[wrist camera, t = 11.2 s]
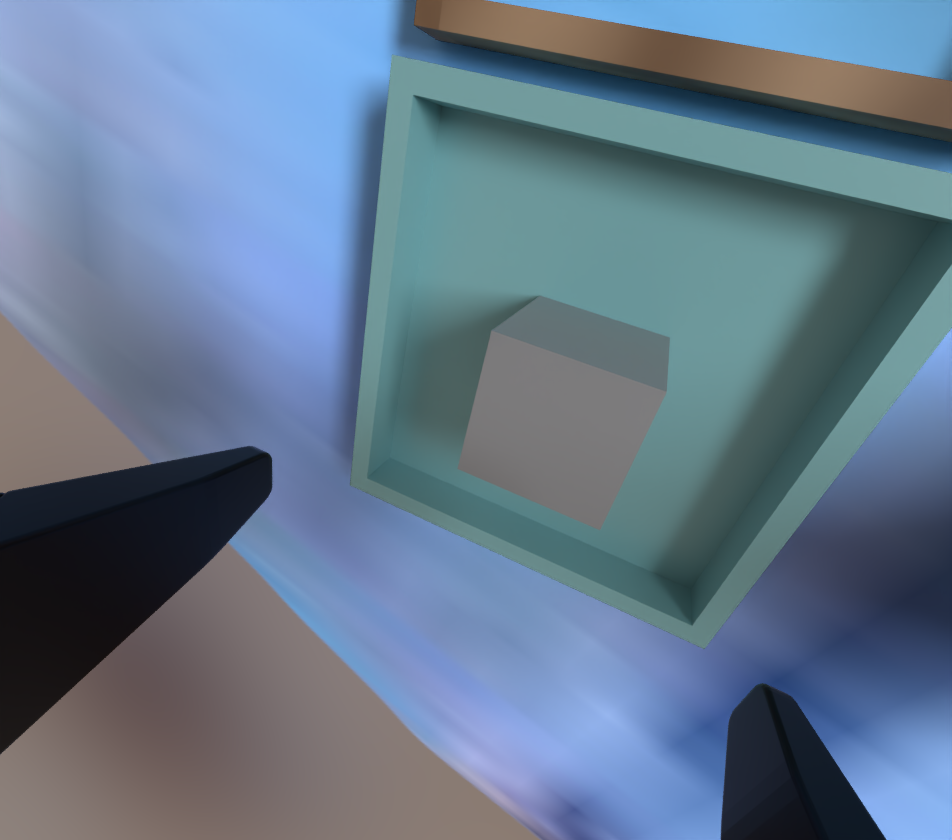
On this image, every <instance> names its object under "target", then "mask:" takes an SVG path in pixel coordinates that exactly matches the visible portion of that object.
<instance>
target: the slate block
mask: <svg viewBox="0 0 952 840" xmlns="http://www.w3.org/2000/svg"><path fill="white" fill-rule="evenodd" d="M669 346H670V337H667V336H664V335H661V334H658V333H655V332H652V331H648V330H645V329H642V328H639V327H636V326H633V325H630V324H627V323H624V322H621V321H618V320H614V319H611V318H608V317H605V316H602V315H599V314H596V313H593V312H590V311H587V310H584V309H581V308H577V307H574V306H571V305H568V304H565V303H562V302H559V301H556V300H553V299H550V298H547V297H543V296H539V297H538V298H536V299H535V300H533V301H532V302H531V303H529V304H528V305H526V306H525V307H524V308H522V309H521V310H519V311H518V312H517V313H515V314H514V315H512V316H511V317H510V318H508V319H507V320H506V321H504V322H503V323H501V324H500V325H499V326H497V327H496V328H494V329H493V330H492V331H491V335H490V339H489V343H488V347H487V351H486V355H485V359H484V363H483V367H482V371H481V375H480V379H479V383H478V387H477V391H476V395H475V399H474V404H473V408H472V412H471V416H470V420H469V424H468V428H467V432H466V436H465V440H464V444H463V448H462V452H461V456H460V460H459V464H458V468H457V469H459V470H461V471H463V472H466V473H468V474H470V475H473V476H475V477H477V478H480V479H482V480H484V481H487V482H489V483H491V484H494V485H496V486H498V487H501V488H503V489H505V490H508V491H510V492H512V493H514V494H517V495H519V496H521V497H524V498H526V499H528V500H531V501H533V502H535V503H538V504H540V505H542V506H545V507H547V508H549V509H552V510H554V511H556V512H559V513H561V514H563V515H566V516H568V517H570V518H573V519H575V520H577V521H580V522H582V523H584V524H587V525H589V526H591V527H593V528H596V529H598V530H600V529H601V527H602V525H603V523H604V521H605V519H606V517H607V515H608V513H609V511H610V508H611V506H612V504H613V502H614V500H615V498H616V496H617V494H618V492H619V490H620V488H621V486H622V484H623V482H624V479H625V477H626V475H627V473H628V471H629V469H630V467H631V465H632V463H633V461H634V459H635V457H636V455H637V453H638V451H639V448H640V446H641V444H642V442H643V440H644V438H645V436H646V434H647V432H648V430H649V428H650V426H651V424H652V422H653V419H654V417H655V415H656V413H657V411H658V409H659V407H660V405H661V403H662V401H663V399H664V397H665V395H666V393H667V380H668V363H669Z"/></svg>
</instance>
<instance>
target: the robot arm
mask: <svg viewBox="0 0 952 840" xmlns="http://www.w3.org/2000/svg"><path fill="white" fill-rule="evenodd" d="M271 490H272V458H271V456H270V454H268V453H267V452H265V451H263V450H260V449H258V448H256V447H253V446H247V447H241V448H236V449H231V450H225V451H220V452H215V453H209V454H204V455H199V456H193V457H188V458H183V459H177V460H172V461H167V462H161V463H156V464H151V465H145V466H140V467H135V468H129V469H124V470H119V471H114V472H108V473H103V474H98V475H92V476H87V477H81V478H76V479H71V480H66V481H60V482H55V483H50V484H45V485H40V486H34V487H29V488H23V489H18V490H12V491H8V492H7V493H0V754H1V753H2V752H3V751H5V750H6V749H7V748H8V747H9V746H10V745H11V744H12V743H13V742H14V741H15V740H16V739H18V738H19V737H20V736H21V735H22V734H23V733H24V732H25V731H26V730H27V729H28V728H29V727H31V726H32V725H33V724H34V723H35V722H36V721H37V720H38V719H39V718H40V717H41V716H43V715H44V714H45V713H46V712H47V711H48V710H49V709H50V708H51V707H52V706H53V705H54V704H56V703H57V702H58V701H59V700H60V699H61V698H62V697H63V696H64V695H65V694H66V693H67V692H68V691H70V690H71V689H72V688H73V687H74V686H75V685H76V684H77V683H78V682H79V681H80V680H81V679H83V678H84V677H85V676H86V675H87V674H88V673H89V672H90V671H91V670H92V669H94V668H95V667H96V666H97V665H98V664H99V663H100V662H101V661H102V660H103V659H104V658H106V656H108V655H109V654H110V653H111V652H112V651H113V650H114V649H115V648H116V647H117V646H119V645H120V644H121V643H122V642H123V641H124V640H125V639H126V638H127V637H128V636H129V635H130V634H131V633H133V632H134V631H135V630H136V629H137V628H138V627H139V626H140V625H141V624H142V623H144V622H145V621H146V620H147V619H148V618H149V617H150V616H151V615H152V614H153V613H154V612H155V611H157V610H158V609H159V608H160V607H161V606H162V605H163V604H164V603H165V602H166V601H167V600H168V599H170V598H171V597H172V596H173V595H174V594H175V593H176V592H177V591H178V590H179V589H180V588H182V587H183V586H184V585H185V584H186V583H187V582H188V581H189V580H190V579H191V578H192V577H193V576H195V575H196V574H197V573H198V572H199V571H200V570H201V569H202V568H203V567H204V566H205V565H206V564H207V563H208V562H209V561H210V560H211V559H213V557H214V556H215V555H216V554H217V553H218V552H219V551H220V550H221V549H222V548H223V547H224V546H225V545H226V544H227V542H228V541H229V540H230V539H231V538H232V537H233V536H234V535H235V534H236V532H237V531H238V530H239V529H240V528H241V527H242V526H243V525H244V524H245V522H246V521H247V520H248V519H249V518H250V517H251V516H252V515H253V514H254V512H255V511H256V510H257V509H258V508H259V507H260V506H261V505H262V504H263V502H264V501H265V500H266V499H267V498H268V496H269V495H270V492H271ZM721 840H886V838H885V837H884V835H883V834H882V832H881V831H880V829H879V828H878V826H877V825H876V823H875V822H874V820H873V819H872V817H871V815H870V814H869V812H868V811H867V809H866V808H865V806H864V805H863V803H862V802H861V800H860V799H859V797H858V796H857V794H856V793H855V791H854V790H853V788H852V786H851V785H850V783H849V782H848V780H847V779H846V777H845V776H844V774H843V773H842V771H841V770H840V768H839V767H838V765H837V764H836V762H835V761H834V759H833V758H832V756H831V754H830V753H829V751H828V750H827V748H826V747H825V745H824V744H823V742H822V741H821V739H820V738H819V736H818V735H817V733H816V732H815V730H814V729H813V727H812V726H811V724H810V722H809V721H808V719H807V718H806V716H805V715H804V713H803V712H802V710H801V709H800V707H799V706H798V704H797V703H796V701H795V700H794V699H793V698H792V697H791V696H790V695H788V694H786V693H784V692H782V691H780V690H778V689H776V688H773V687H771V686H769V685H767V684H763V683H762V684H758V685H756V686H755V687H754V688H753V689H752V690H751V691H750V693H749V694H748V695H747V696H746V697H745V698H744V699H743V700H742V701H741V702H740V703H739V704H738V706H737V707H736V708H735V709H734V710H733V712H732V714H731V716H730V719H729V724H728V736H727V750H726V763H725V777H724V791H723V805H722V820H721Z"/></svg>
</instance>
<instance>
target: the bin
mask: <svg viewBox="0 0 952 840" xmlns="http://www.w3.org/2000/svg"><path fill="white" fill-rule="evenodd" d="M539 296H543V297H547V298H550V299H553V300H556V301H559V302H562V303H565V304H568V305H571V306H574V307H577V308H581V309H584V310H587V311H590V312H593V313H596V314H599V315H602V316H605V317H608V318H611V319H614V320H618V321H621V322H624V323H627V324H630V325H633V326H636V327H639V328H642V329H645V330H648V331H652V332H655V333H658V334H661V335H664V336H667V337H670V346H669V363H668V380H667V393H666V395H665V397H664V399H663V401H662V403H661V405H660V407H659V409H658V411H657V413H656V415H655V417H654V419H653V422H652V424H651V426H650V428H649V430H648V432H647V434H646V436H645V438H644V440H643V442H642V444H641V446H640V448H639V451H638V453H637V455H636V457H635V459H634V461H633V463H632V465H631V467H630V469H629V471H628V473H627V475H626V477H625V479H624V482H623V484H622V486H621V488H620V490H619V492H618V494H617V496H616V498H615V500H614V502H613V504H612V506H611V508H610V511H609V513H608V515H607V517H606V519H605V521H604V523H603V525H602V527H601V529H600V530H598V529H596V528H593V527H591V526H589V525H587V524H584V523H582V522H580V521H577V520H575V519H573V518H570V517H568V516H566V515H563V514H561V513H559V512H556V511H554V510H552V509H549V508H547V507H545V506H542V505H540V504H538V503H535V502H533V501H531V500H528V499H526V498H524V497H521V496H519V495H517V494H514V493H512V492H510V491H508V490H505V489H503V488H501V487H498V486H496V485H494V484H491V483H489V482H487V481H484V480H482V479H480V478H477V477H475V476H473V475H470V474H468V473H466V472H463V471H461V470H459V469H457V468H458V464H459V460H460V456H461V452H462V448H463V444H464V440H465V436H466V432H467V428H468V424H469V420H470V416H471V412H472V408H473V404H474V399H475V395H476V391H477V387H478V383H479V379H480V375H481V371H482V367H483V363H484V359H485V355H486V351H487V347H488V343H489V339H490V335H491V331H492V330H493V329H494V328H496V327H497V326H499V325H500V324H501V323H503V322H504V321H506V320H507V319H508V318H510V317H511V316H512V315H514V314H515V313H517V312H518V311H519V310H521V309H522V308H524V307H525V306H526V305H528V304H529V303H531V302H532V301H533V300H535V299H536V298H538V297H539ZM951 328H952V173H947V172H942V171H937V170H933V169H928V168H923V167H919V166H914V165H909V164H904V163H900V162H895V161H890V160H886V159H881V158H876V157H872V156H867V155H862V154H857V153H853V152H848V151H843V150H839V149H834V148H829V147H824V146H820V145H815V144H810V143H806V142H801V141H796V140H791V139H787V138H782V137H777V136H773V135H768V134H763V133H758V132H754V131H749V130H744V129H740V128H735V127H730V126H726V125H721V124H716V123H711V122H707V121H702V120H697V119H693V118H688V117H683V116H678V115H674V114H669V113H664V112H660V111H655V110H650V109H645V108H641V107H636V106H631V105H627V104H622V103H617V102H612V101H608V100H603V99H598V98H594V97H589V96H584V95H579V94H575V93H570V92H565V91H561V90H556V89H551V88H547V87H542V86H537V85H532V84H528V83H523V82H518V81H514V80H509V79H504V78H499V77H495V76H490V75H485V74H481V73H476V72H471V71H466V70H462V69H457V68H452V67H448V66H443V65H438V64H433V63H429V62H424V61H419V60H415V59H410V58H405V57H400V56H396V55H392V60H391V70H390V80H389V91H388V101H387V111H386V121H385V132H384V142H383V152H382V162H381V173H380V183H379V193H378V203H377V213H376V224H375V234H374V244H373V254H372V265H371V275H370V285H369V295H368V306H367V316H366V326H365V336H364V347H363V357H362V367H361V377H360V387H359V398H358V408H357V418H356V428H355V439H354V449H353V459H352V469H351V480H350V485H351V486H353V487H355V488H357V489H359V490H361V491H363V492H366V493H368V494H370V495H372V496H374V497H376V498H379V499H381V500H383V501H385V502H387V503H389V504H392V505H394V506H396V507H398V508H400V509H402V510H405V511H407V512H409V513H411V514H413V515H415V516H418V517H420V518H422V519H424V520H426V521H428V522H431V523H433V524H435V525H437V526H439V527H441V528H443V529H446V530H448V531H450V532H452V533H454V534H456V535H459V536H461V537H463V538H465V539H467V540H469V541H472V542H474V543H476V544H478V545H480V546H482V547H485V548H487V549H489V550H491V551H493V552H495V553H498V554H500V555H502V556H504V557H506V558H508V559H511V560H513V561H515V562H517V563H519V564H521V565H524V566H526V567H528V568H530V569H532V570H534V571H536V572H539V573H541V574H543V575H545V576H547V577H549V578H552V579H554V580H556V581H558V582H560V583H562V584H565V585H567V586H569V587H571V588H573V589H575V590H578V591H580V592H582V593H584V594H586V595H588V596H591V597H593V598H595V599H597V600H599V601H601V602H604V603H606V604H608V605H610V606H612V607H614V608H616V609H619V610H621V611H623V612H625V613H627V614H629V615H632V616H634V617H636V618H638V619H640V620H642V621H645V622H647V623H649V624H651V625H653V626H655V627H658V628H660V629H662V630H664V631H666V632H668V633H671V634H673V635H675V636H677V637H679V638H681V639H684V640H686V641H688V642H690V643H692V644H694V645H697V646H699V647H701V648H703V649H705V648H706V646H707V645H708V644H709V642H710V641H711V640H712V638H713V637H714V636H715V635H716V633H717V632H718V631H719V629H720V628H721V627H722V625H723V624H724V623H725V622H726V620H727V619H728V618H729V616H730V615H731V614H732V613H733V611H734V610H735V609H736V607H737V606H738V605H739V603H740V602H741V601H742V600H743V598H744V597H745V596H746V594H747V593H748V592H749V590H750V589H751V588H752V587H753V585H754V584H755V583H756V581H757V580H758V579H759V577H760V576H761V575H762V574H763V572H764V571H765V570H766V568H767V567H768V566H769V564H770V563H771V562H772V561H773V559H774V558H775V557H776V555H777V554H778V553H779V551H780V550H781V549H782V548H783V546H784V545H785V544H786V542H787V541H788V540H789V538H790V537H791V536H792V535H793V533H794V532H795V531H796V529H797V528H798V527H799V525H800V524H801V523H802V522H803V520H804V519H805V518H806V516H807V515H808V514H809V513H810V511H811V510H812V509H813V507H814V506H815V505H816V503H817V502H818V501H819V500H820V498H821V497H822V496H823V494H824V493H825V492H826V490H827V489H828V488H829V487H830V485H831V484H832V483H833V481H834V480H835V479H836V477H837V476H838V475H839V474H840V472H841V471H842V470H843V468H844V467H845V466H846V464H847V463H848V462H849V461H850V459H851V458H852V457H853V455H854V454H855V453H856V451H857V450H858V449H859V448H860V446H861V445H862V444H863V442H864V441H865V440H866V438H867V437H868V436H869V435H870V433H871V432H872V431H873V429H874V428H875V427H876V426H877V424H878V423H879V422H880V420H881V419H882V418H883V416H884V415H885V414H886V413H887V411H888V410H889V409H890V407H891V406H892V405H893V403H894V402H895V401H896V400H897V398H898V397H899V396H900V394H901V393H902V392H903V390H904V389H905V388H906V387H907V385H908V384H909V383H910V381H911V380H912V379H913V377H914V376H915V375H916V374H917V372H918V371H919V370H920V368H921V367H922V366H923V364H924V363H925V362H926V361H927V359H928V358H929V357H930V355H931V354H932V353H933V351H934V350H935V349H936V348H937V346H938V345H939V344H940V342H941V341H942V340H943V339H944V337H945V336H946V335H947V333H948V332H949V331H950V329H951Z"/></svg>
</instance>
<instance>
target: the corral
mask: <svg viewBox="0 0 952 840" xmlns="http://www.w3.org/2000/svg"><path fill="white" fill-rule="evenodd" d="M414 25H415V26H416V27H418V28H419V29H421V30H422V31H424V32H425V33H427V34H428V35H430V36H432V37H433V38H435V39H436V40H440V41H445V42H450V43H455V44H460V45H465V46H470V47H475V48H480V49H485V50H490V51H495V52H500V53H506V54H511V55H516V56H521V57H526V58H531V59H536V60H541V61H546V62H551V63H556V64H561V65H566V66H571V67H576V68H581V69H586V70H591V71H596V72H601V73H606V74H611V75H616V76H621V77H626V78H631V79H636V80H641V81H646V82H651V83H656V84H661V85H666V86H671V87H676V88H681V89H686V90H691V91H696V92H701V93H706V94H711V95H716V96H722V97H727V98H732V99H737V100H742V101H747V102H752V103H757V104H762V105H767V106H772V107H777V108H782V109H787V110H792V111H797V112H802V113H807V114H812V115H817V116H822V117H827V118H832V119H837V120H842V121H847V122H852V123H857V124H862V125H867V126H872V127H877V128H882V129H887V130H892V131H897V132H902V133H907V134H912V135H917V136H922V137H927V138H932V139H938V140H943V141H948V142H952V81H948V80H943V79H937V78H931V77H925V76H920V75H914V74H908V73H902V72H897V71H891V70H885V69H879V68H873V67H868V66H862V65H856V64H850V63H845V62H839V61H833V60H827V59H821V58H816V57H810V56H804V55H798V54H793V53H787V52H781V51H775V50H769V49H764V48H758V47H752V46H746V45H741V44H735V43H729V42H723V41H717V40H712V39H706V38H700V37H694V36H689V35H683V34H677V33H671V32H665V31H660V30H654V29H648V28H642V27H637V26H631V25H625V24H619V23H613V22H608V21H602V20H596V19H590V18H585V17H579V16H573V15H567V14H561V13H556V12H550V11H544V10H538V9H533V8H527V7H521V6H515V5H509V4H504V3H498V2H492V1H486V0H417V1H416V10H415V19H414Z"/></svg>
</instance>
